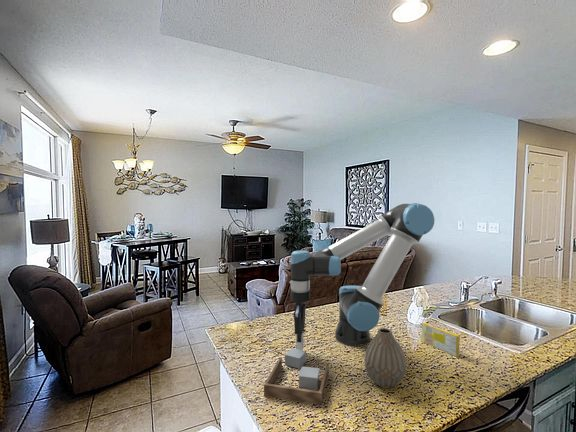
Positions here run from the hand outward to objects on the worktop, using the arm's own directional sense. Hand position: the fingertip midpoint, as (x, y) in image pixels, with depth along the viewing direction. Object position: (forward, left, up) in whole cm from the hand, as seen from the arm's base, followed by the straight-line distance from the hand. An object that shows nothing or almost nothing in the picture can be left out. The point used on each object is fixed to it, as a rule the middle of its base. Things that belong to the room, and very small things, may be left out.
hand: (299, 348), depth 123 cm
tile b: (0, +8, -2) cm, 8 cm away
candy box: (-55, -18, -2) cm, 58 cm away
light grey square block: (-8, +20, -2) cm, 21 cm away
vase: (-32, +13, -2) cm, 34 cm away
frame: (-4, +21, -2) cm, 21 cm away
